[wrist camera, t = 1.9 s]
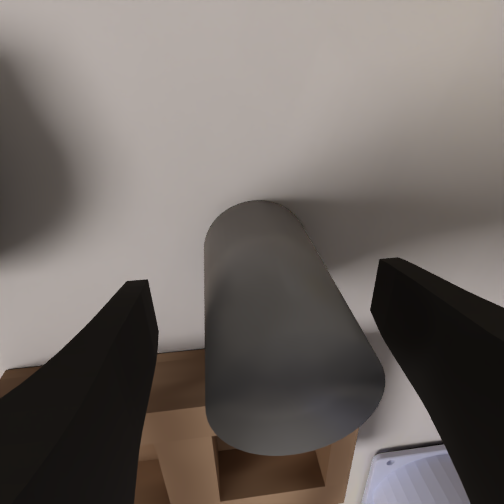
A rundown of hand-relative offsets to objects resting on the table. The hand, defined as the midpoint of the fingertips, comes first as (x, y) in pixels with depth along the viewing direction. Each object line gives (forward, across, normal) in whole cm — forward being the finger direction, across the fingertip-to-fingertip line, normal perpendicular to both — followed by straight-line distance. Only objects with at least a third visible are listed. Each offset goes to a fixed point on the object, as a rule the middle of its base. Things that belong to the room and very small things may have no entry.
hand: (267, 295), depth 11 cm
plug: (+3, 0, 0) cm, 3 cm away
